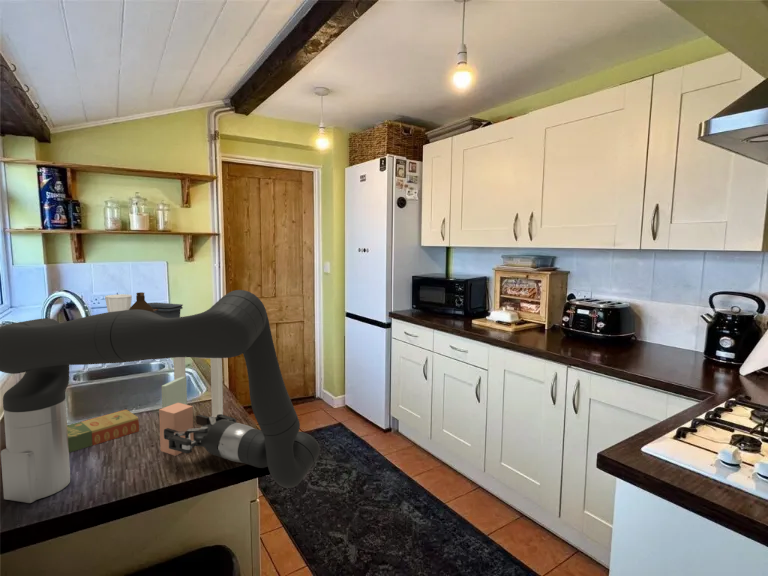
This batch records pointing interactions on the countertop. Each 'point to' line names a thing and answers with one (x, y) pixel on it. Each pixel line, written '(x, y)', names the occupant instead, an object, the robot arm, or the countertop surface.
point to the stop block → (175, 423)
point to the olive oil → (141, 303)
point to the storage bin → (167, 309)
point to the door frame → (215, 381)
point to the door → (174, 392)
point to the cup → (118, 302)
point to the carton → (101, 429)
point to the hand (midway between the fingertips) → (181, 425)
